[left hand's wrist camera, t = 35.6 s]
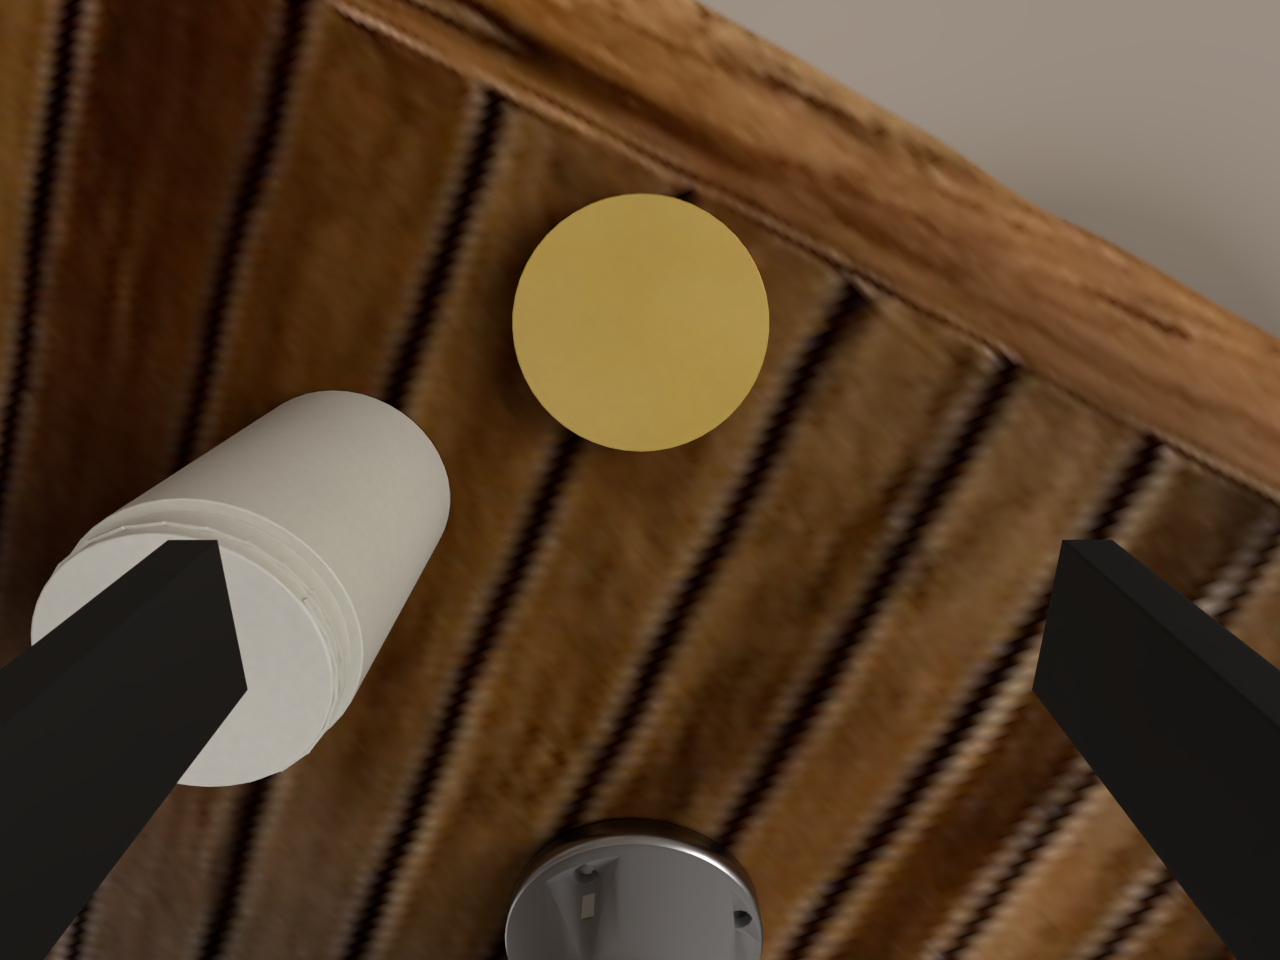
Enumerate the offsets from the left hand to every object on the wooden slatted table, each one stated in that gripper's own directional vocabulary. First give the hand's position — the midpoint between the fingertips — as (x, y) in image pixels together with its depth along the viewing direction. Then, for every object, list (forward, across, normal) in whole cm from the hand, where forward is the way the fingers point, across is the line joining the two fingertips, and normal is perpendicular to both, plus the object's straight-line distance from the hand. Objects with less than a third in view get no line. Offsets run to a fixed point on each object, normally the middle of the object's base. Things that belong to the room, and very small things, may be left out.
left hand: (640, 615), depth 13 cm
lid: (+24, 0, 0) cm, 24 cm away
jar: (+26, +14, +8) cm, 31 cm away
